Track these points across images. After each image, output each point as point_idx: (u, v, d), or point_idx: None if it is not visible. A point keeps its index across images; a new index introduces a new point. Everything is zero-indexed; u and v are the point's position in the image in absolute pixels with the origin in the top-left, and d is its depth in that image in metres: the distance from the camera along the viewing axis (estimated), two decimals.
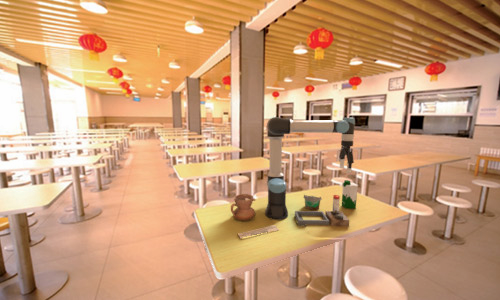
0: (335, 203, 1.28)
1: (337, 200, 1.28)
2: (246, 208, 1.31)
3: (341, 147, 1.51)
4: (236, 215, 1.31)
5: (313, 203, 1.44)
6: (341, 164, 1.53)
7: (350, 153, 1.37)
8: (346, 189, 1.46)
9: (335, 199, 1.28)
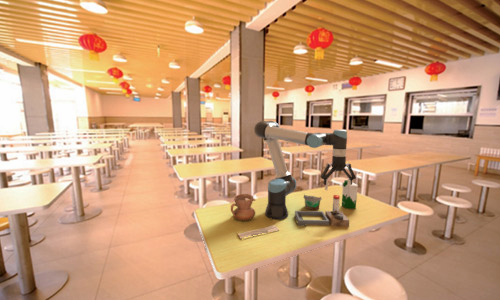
0: (335, 203, 1.28)
1: (337, 200, 1.28)
2: (246, 208, 1.31)
3: None
4: (236, 215, 1.31)
5: (313, 203, 1.44)
6: (347, 185, 1.28)
7: (325, 168, 1.27)
8: (346, 189, 1.46)
9: (335, 199, 1.28)
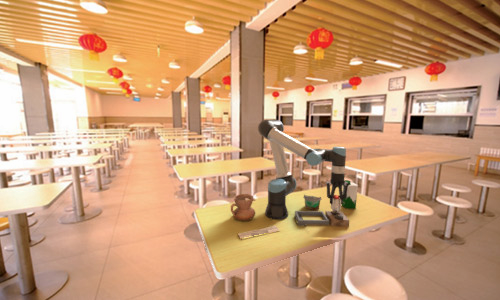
0: (335, 203, 1.28)
1: (337, 200, 1.28)
2: (246, 208, 1.31)
3: None
4: (236, 215, 1.31)
5: (313, 203, 1.44)
6: None
7: (327, 187, 1.29)
8: None
9: (335, 199, 1.28)
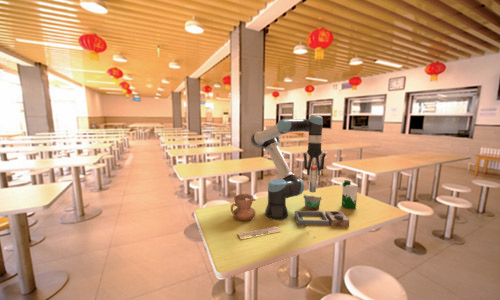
0: (312, 174, 1.26)
1: (314, 171, 1.25)
2: (246, 208, 1.31)
3: None
4: (236, 215, 1.31)
5: (313, 203, 1.44)
6: None
7: (304, 158, 1.26)
8: (346, 189, 1.46)
9: (312, 170, 1.25)
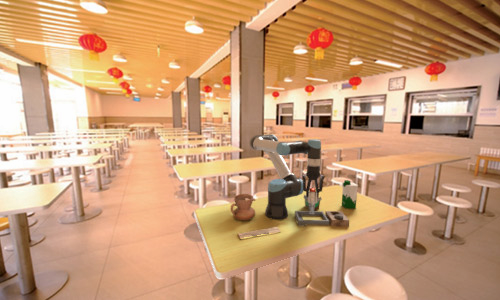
0: (311, 196, 1.27)
1: (313, 193, 1.27)
2: (246, 208, 1.31)
3: None
4: (236, 215, 1.31)
5: None
6: None
7: (303, 180, 1.28)
8: (346, 189, 1.46)
9: (311, 192, 1.27)
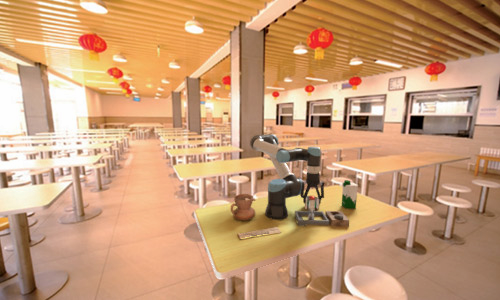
0: (310, 204, 1.28)
1: (312, 201, 1.28)
2: (246, 208, 1.31)
3: None
4: (236, 215, 1.31)
5: None
6: None
7: (301, 187, 1.29)
8: (346, 189, 1.46)
9: (310, 200, 1.28)
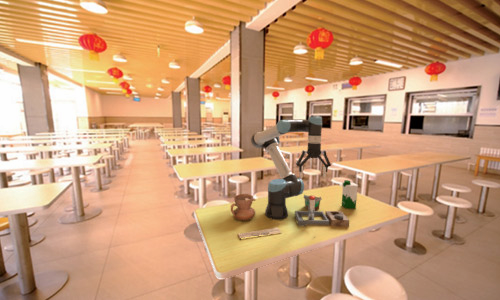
0: (310, 204, 1.28)
1: (312, 201, 1.28)
2: (246, 208, 1.31)
3: None
4: (236, 215, 1.31)
5: None
6: (323, 172, 1.27)
7: (301, 155, 1.26)
8: (346, 189, 1.46)
9: (310, 200, 1.28)
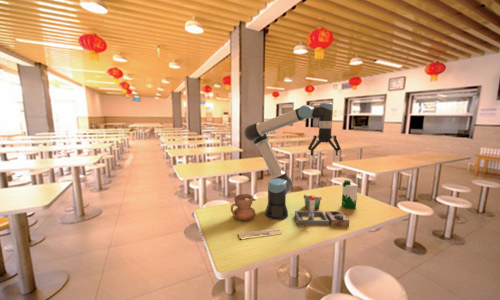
0: (310, 204, 1.28)
1: (312, 201, 1.28)
2: (246, 208, 1.31)
3: None
4: (236, 215, 1.31)
5: None
6: (333, 156, 1.35)
7: (312, 140, 1.34)
8: (346, 189, 1.46)
9: (310, 200, 1.28)
